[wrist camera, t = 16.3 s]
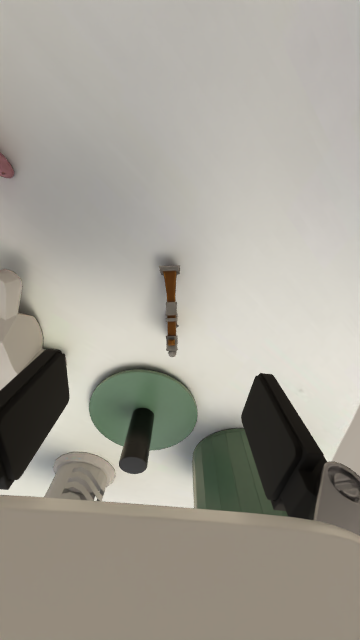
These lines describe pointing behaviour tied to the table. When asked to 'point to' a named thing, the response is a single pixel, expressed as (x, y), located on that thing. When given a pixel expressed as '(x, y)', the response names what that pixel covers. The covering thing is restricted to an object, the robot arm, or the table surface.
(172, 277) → the wooden post with brackets
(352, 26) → the table surface
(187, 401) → the tin lid
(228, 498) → the tin
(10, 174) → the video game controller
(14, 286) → the bunny figurine
